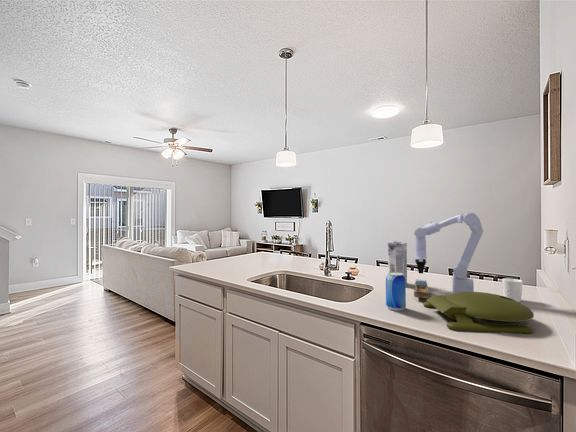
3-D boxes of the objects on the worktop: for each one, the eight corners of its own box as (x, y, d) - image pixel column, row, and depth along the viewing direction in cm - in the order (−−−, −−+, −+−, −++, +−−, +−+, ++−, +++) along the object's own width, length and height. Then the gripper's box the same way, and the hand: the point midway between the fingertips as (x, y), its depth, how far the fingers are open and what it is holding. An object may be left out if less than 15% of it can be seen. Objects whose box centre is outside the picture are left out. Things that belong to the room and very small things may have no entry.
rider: (426, 286, 153) (426, 279, 153) (426, 287, 150) (426, 281, 150) (415, 285, 155) (415, 279, 155) (415, 287, 152) (415, 280, 152)
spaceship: (450, 332, 102) (449, 305, 102) (421, 305, 133) (421, 285, 133) (556, 336, 97) (556, 308, 98) (501, 308, 128) (501, 286, 128)
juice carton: (409, 283, 173) (408, 240, 173) (398, 286, 167) (398, 241, 167) (396, 281, 180) (396, 239, 180) (386, 283, 174) (385, 240, 175)
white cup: (519, 298, 140) (519, 279, 140) (525, 303, 133) (524, 282, 133) (500, 297, 144) (500, 277, 144) (504, 301, 137) (504, 280, 137)
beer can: (396, 312, 122) (396, 276, 122) (382, 307, 129) (381, 272, 129) (409, 309, 126) (409, 274, 126) (394, 304, 133) (394, 271, 133)
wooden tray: (428, 291, 155) (427, 283, 155) (429, 302, 136) (429, 292, 136) (414, 290, 158) (414, 282, 158) (414, 300, 138) (413, 291, 138)
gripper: (412, 247, 167) (413, 269, 167) (412, 249, 154) (413, 274, 154) (426, 247, 164) (426, 270, 164) (427, 250, 151) (427, 275, 151)
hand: (420, 272), depth 159 cm, fingers open, 4 cm apart
